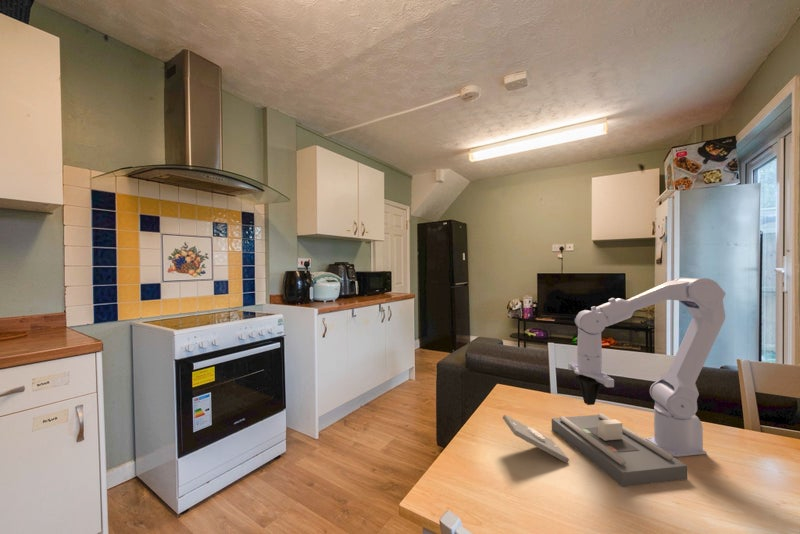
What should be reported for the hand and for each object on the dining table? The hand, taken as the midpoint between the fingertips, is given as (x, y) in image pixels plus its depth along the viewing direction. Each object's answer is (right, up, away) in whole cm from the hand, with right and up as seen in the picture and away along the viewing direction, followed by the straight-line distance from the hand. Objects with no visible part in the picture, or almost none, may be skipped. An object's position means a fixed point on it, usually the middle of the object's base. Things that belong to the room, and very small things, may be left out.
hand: (589, 403), depth 86 cm
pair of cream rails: (+1, -6, -7) cm, 9 cm away
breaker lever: (+1, -6, -7) cm, 9 cm away
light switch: (-19, -9, -8) cm, 22 cm away
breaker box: (+1, -9, -7) cm, 11 cm away
